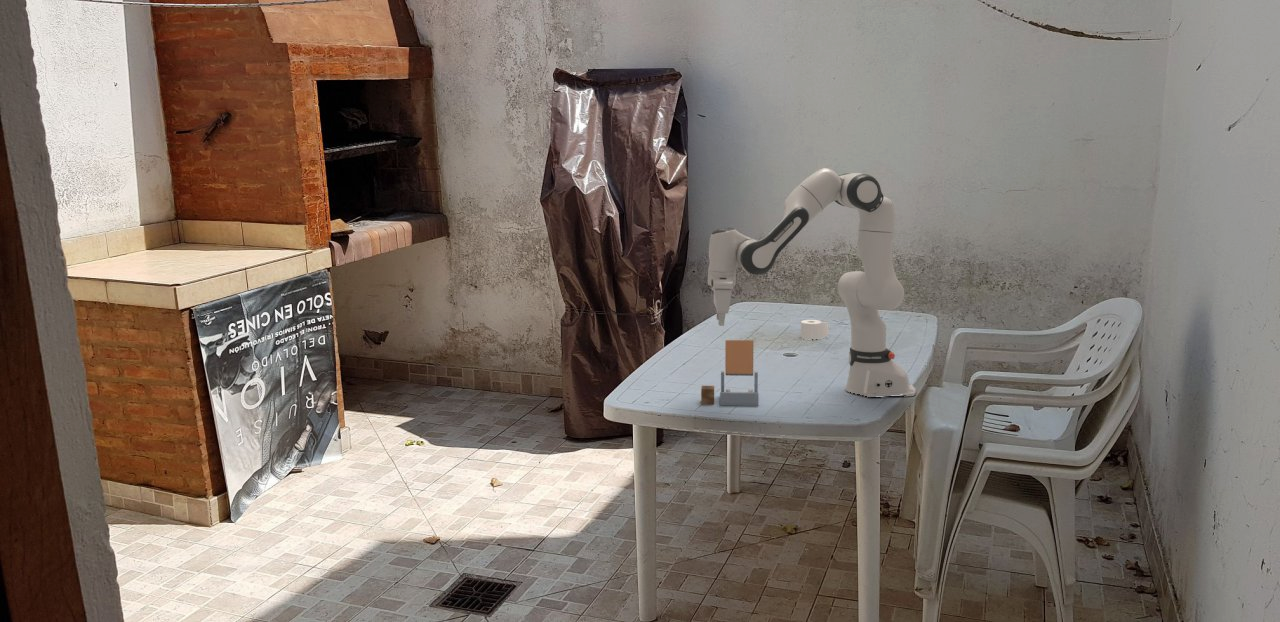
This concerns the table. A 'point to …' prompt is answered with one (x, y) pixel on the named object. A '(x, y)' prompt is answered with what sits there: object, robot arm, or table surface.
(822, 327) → the toilet paper
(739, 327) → the table surface
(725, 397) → the housing base
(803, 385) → the table surface
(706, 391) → the block
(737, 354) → the lid
